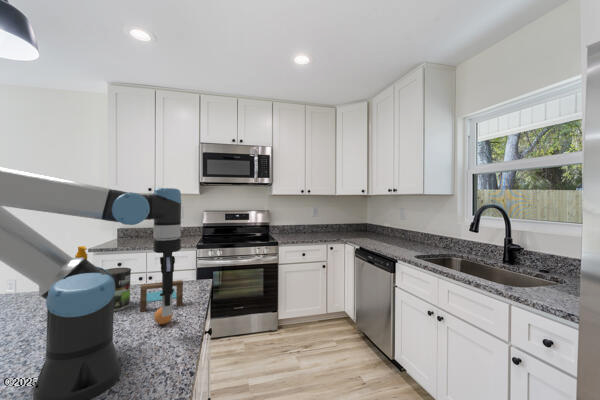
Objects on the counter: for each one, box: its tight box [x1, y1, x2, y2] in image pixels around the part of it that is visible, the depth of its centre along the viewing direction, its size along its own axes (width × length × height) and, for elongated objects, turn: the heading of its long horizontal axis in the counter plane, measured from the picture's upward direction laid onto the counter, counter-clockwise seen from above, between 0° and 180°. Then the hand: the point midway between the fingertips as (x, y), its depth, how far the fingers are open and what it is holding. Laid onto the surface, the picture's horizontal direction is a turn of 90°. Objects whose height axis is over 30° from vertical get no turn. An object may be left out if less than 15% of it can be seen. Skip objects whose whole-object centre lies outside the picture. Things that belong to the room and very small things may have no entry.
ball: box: [154, 306, 174, 325], centre depth 90 cm, size 6×6×6 cm
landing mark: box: [146, 288, 177, 303], centre depth 116 cm, size 12×12×1 cm
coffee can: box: [105, 267, 132, 312], centre depth 103 cm, size 10×10×14 cm
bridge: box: [139, 279, 184, 313], centre depth 104 cm, size 3×14×9 cm, turn 119°
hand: (166, 314), depth 82 cm, fingers closed
